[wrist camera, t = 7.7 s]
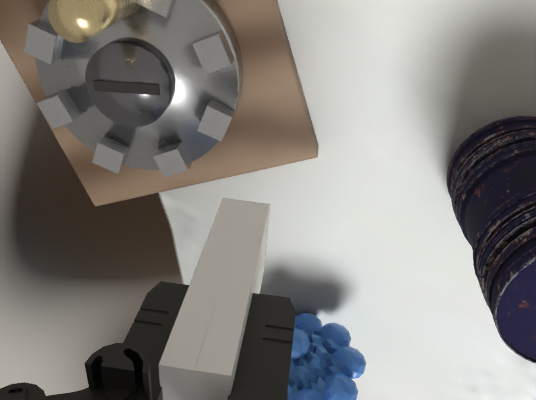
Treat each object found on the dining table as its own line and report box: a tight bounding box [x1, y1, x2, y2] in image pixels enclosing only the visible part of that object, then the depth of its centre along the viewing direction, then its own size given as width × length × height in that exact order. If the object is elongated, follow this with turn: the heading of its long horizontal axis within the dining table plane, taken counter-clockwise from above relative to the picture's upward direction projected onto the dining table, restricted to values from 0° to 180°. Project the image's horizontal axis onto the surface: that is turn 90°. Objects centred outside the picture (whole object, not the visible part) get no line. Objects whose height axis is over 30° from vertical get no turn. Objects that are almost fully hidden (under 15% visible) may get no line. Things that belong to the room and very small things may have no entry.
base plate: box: [0, 0, 318, 206], centre depth 36 cm, size 20×20×2 cm
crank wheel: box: [24, 0, 243, 178], centre depth 32 cm, size 14×14×10 cm
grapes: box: [287, 313, 366, 400], centre depth 44 cm, size 12×7×12 cm, turn 106°
